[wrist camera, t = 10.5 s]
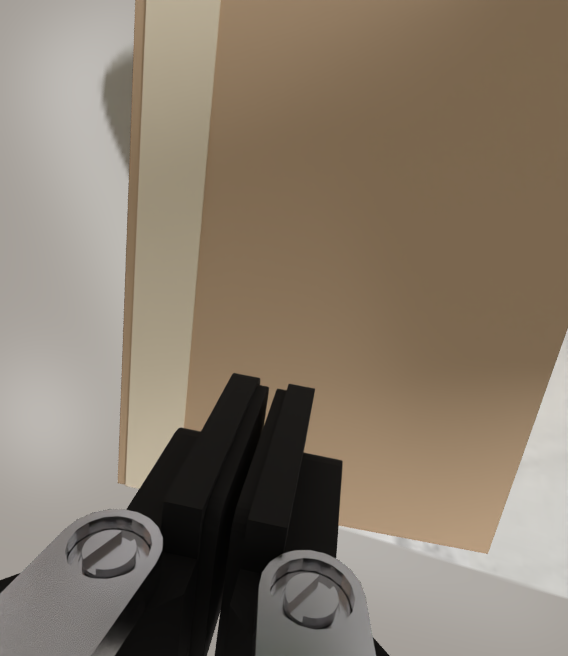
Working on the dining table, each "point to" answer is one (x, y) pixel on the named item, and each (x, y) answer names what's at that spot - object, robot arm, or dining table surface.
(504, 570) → the dining table surface
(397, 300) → the box lid
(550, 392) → the dining table surface
